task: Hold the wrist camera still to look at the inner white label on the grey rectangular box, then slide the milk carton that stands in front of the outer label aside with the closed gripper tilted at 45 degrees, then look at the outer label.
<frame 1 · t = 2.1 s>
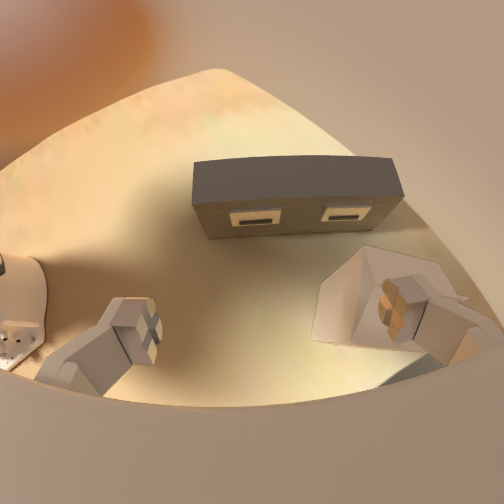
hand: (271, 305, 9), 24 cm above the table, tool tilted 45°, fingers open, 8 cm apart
grey rectangular box: (292, 216, 36), on the table
milk carton: (342, 316, 32), on the table
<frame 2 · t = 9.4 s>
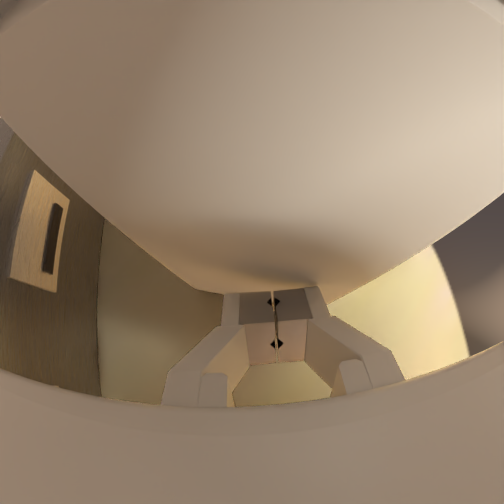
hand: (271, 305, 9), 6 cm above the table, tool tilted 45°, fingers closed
grey rectangular box: (69, 339, 14), on the table
milk carton: (265, 242, 16), on the table, touching gripper
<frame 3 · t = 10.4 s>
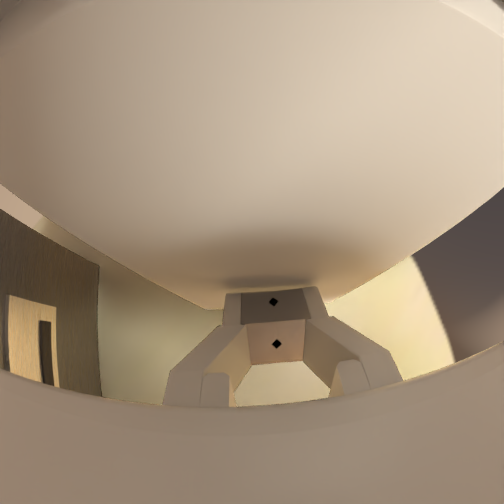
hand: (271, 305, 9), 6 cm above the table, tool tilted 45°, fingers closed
grey rectangular box: (78, 420, 13), on the table
milk carton: (264, 248, 16), on the table
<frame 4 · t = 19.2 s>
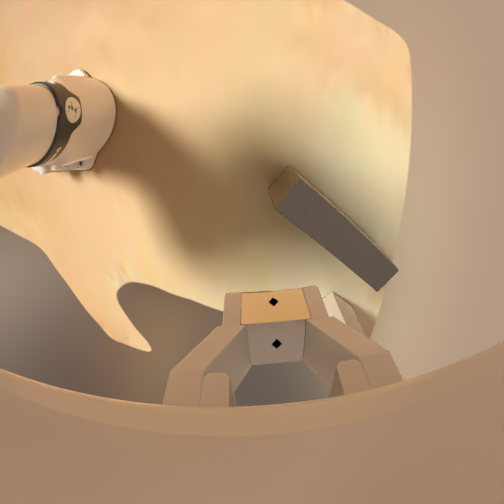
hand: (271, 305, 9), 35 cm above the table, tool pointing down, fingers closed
grey rectangular box: (327, 217, 45), on the table
milk carton: (329, 309, 55), on the table
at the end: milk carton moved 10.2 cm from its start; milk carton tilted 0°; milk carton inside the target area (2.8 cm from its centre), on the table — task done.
